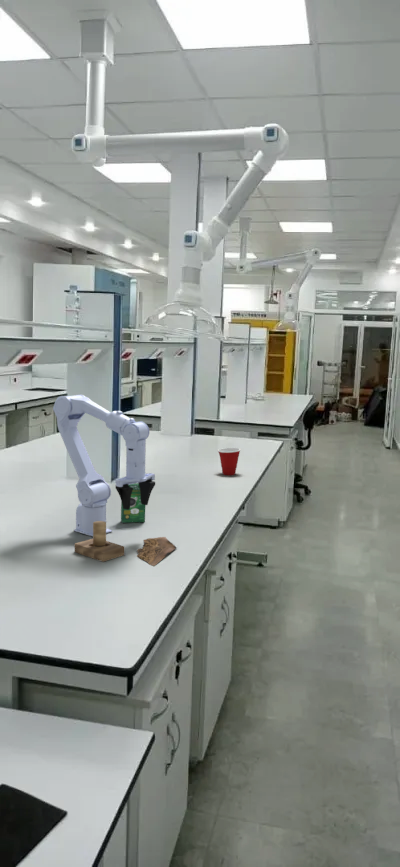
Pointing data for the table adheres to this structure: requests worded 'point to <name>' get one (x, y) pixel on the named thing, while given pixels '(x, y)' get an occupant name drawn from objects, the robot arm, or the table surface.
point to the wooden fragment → (155, 550)
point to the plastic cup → (229, 460)
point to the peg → (99, 534)
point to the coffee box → (134, 507)
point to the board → (99, 550)
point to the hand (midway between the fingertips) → (135, 506)
